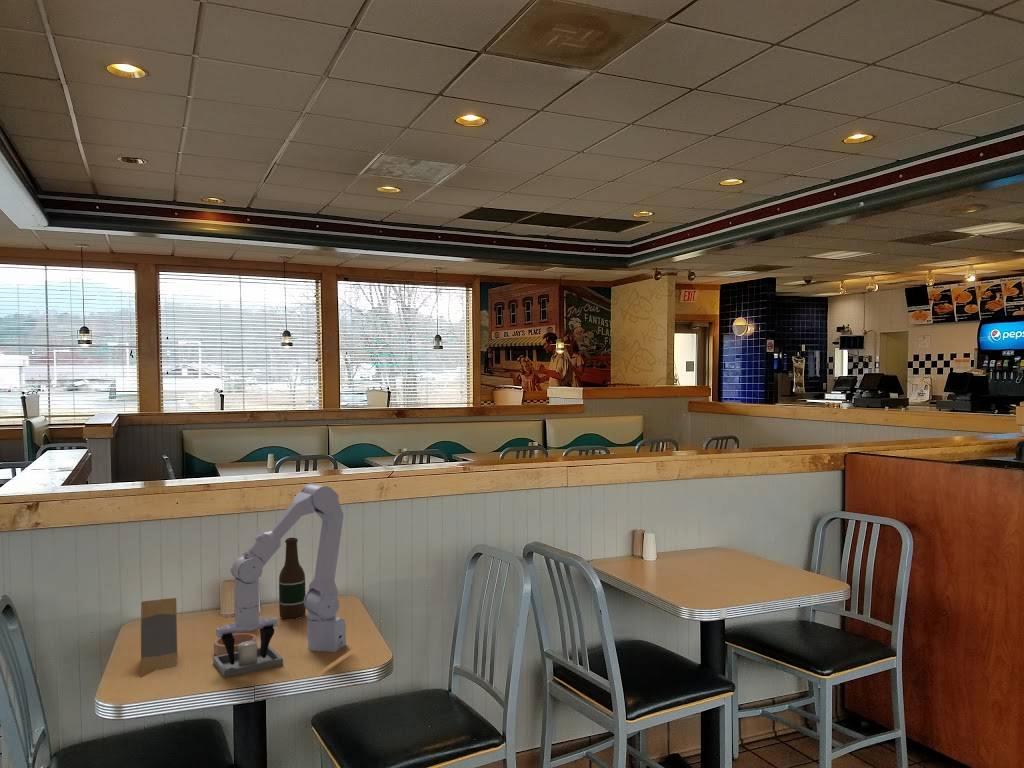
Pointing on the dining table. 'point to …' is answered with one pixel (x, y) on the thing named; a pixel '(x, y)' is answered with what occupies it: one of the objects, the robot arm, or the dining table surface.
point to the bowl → (239, 638)
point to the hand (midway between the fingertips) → (247, 660)
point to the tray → (262, 663)
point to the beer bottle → (291, 584)
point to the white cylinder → (247, 653)
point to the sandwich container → (158, 635)
